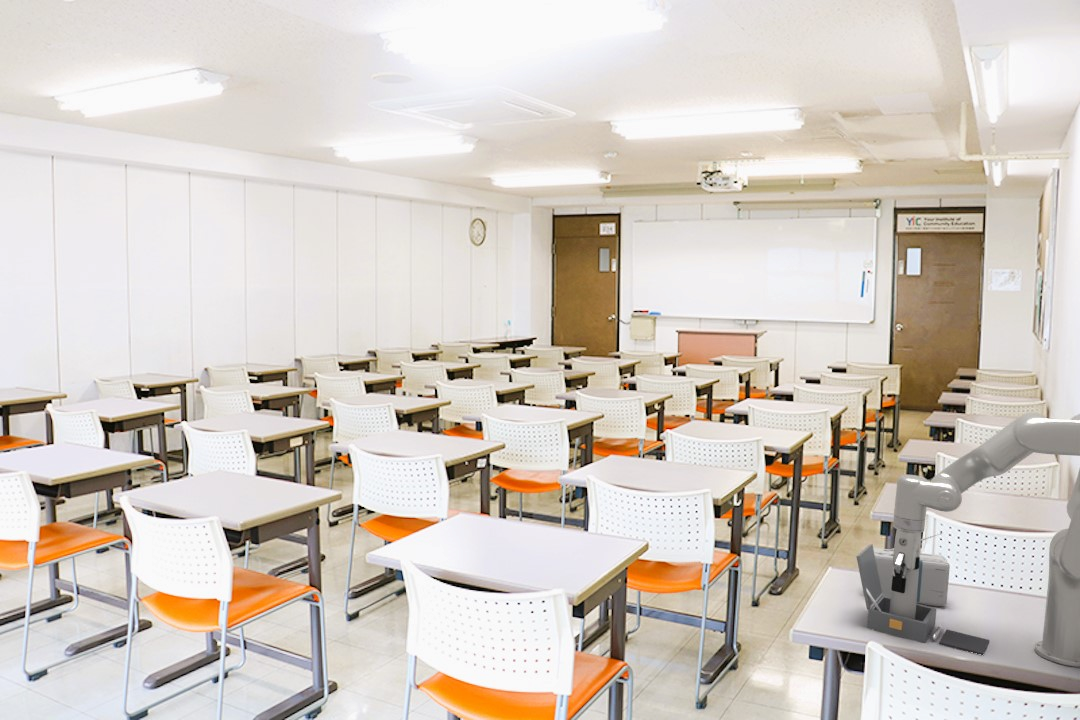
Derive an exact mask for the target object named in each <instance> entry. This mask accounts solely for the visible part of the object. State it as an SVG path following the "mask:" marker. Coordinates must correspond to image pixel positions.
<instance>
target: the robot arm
mask: <svg viewBox="0 0 1080 720" xmlns="http://www.w3.org/2000/svg"><path fill="white" fill-rule="evenodd" d="M1033 453H1035V454H1044V455H1045V454H1046V455H1055V456H1077V457H1080V413H1079V414H1076V415H1074V416H1073V417H1071V418H1070V419H1066V418H1065V419H1064V418H1063V419H1062V418H1061V419H1060V418H1047V417H1046V416H1044V415H1043V414H1040V413H1036V412H1027V413H1024V414H1022V415H1020V416H1019V417H1017V418H1015V419H1014V420H1013V421H1011V422H1010V423H1008V424H1007V425H1005V426H1004V427H1003V428H1002V429H1001V430H999V431H998V432H996V433H995V434H994V435H993V436H991V437H990V438H988V439H987V440H986V441H985V442H983V443H981V444H980V445H978V446H977V447H976V448H974V449H972V450H970V451H969V452H967V453H966V454H963V456H961V457H960V458H958V459H956V460H954V461H953V462H952V463H950V464H949V465H948V466H946V467H945V468H944V469H942V470H940V472H939V473H937V474H936V475H935V476H933V477H932V478H931V480H930V481H929V480H928V479H927V478H926V477H924V476H920V475H915V474H902V475H900V476H898V478H897V480H896V489H895V490H896V491H895V503H894V510H893V511H894V512H893V518H892V519H893V521H892V527H893V528H894V529H896V532H895V538H894V546H893V548H894V554H893V565H894V566H895V568H894V572H893V578H892V588H891V590H892V591H895V592H899V593H905V587H906V578H905V576H906V571H907V569H910V570H913V569H914V568H915V563H916V558H918V557H920V553H921V546H922V541H921V539H922V533H923V532H925V526H926V516H927V515H926V514H927V508H929V509H933V510H935V511H940V512H943V513H944V512H945V513H948V512H953V511H956V510H957V509H958V508H959V507H960V506H961V503H962V500H963V499H962V498H963V496H962V495H963V493H965V492H966V491H967V490H968V489H970V488H972V487H973V486H974V485H975V484H977V483H979V482H980V481H983V480H985V479H988V478H991V477H997V476H1000V475H1003V474H1005V473H1007V472H1008V471H1010V470H1011V469H1013V468H1014V467H1016V466H1017V465H1018V464H1019V463H1021V462H1022V461H1023V460H1025V459H1026V458H1027V457H1029V456H1030V455H1032V454H1033ZM1066 504H1067V505H1066V512H1067V516H1068V517H1069V519H1070V523H1069V524H1068V525H1069V526H1068V528H1065V529H1062V530H1060V531H1058V532H1056V534H1055V535H1053V536H1052V538H1051V541H1050V543H1049V551H1048V564H1049V565H1048V568H1049V569H1048V578H1047V579H1048V580H1047V581H1048V582H1047V590H1046V601H1045V612H1044V621H1043V632H1042V640H1039V641H1037V642H1035V644H1034V646H1033V647H1034V651H1035V652H1036V653H1037V654H1038V655H1039V656H1040V657H1042V658H1043V659H1046V660H1048V661H1051V662H1053V663H1057V664H1061V665H1063V666H1069V667H1075V668H1076V667H1077V668H1080V468H1079V470H1078V473H1077V477H1076V479H1075V482H1074V485H1073V488H1072V490H1071V493H1070V496H1069V499H1068V500H1067V503H1066ZM904 557H905V558H904ZM903 565H905V566H903ZM902 569H903V570H904V571H902Z"/></svg>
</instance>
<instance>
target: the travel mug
mask: <svg viewBox="0 0 1080 720" xmlns="http://www.w3.org/2000/svg"><path fill="white" fill-rule="evenodd" d="M904 558H905V557H904ZM919 561H920V557H918V558H916V563H915V568H914V569H913V570H910V569H907V571H906V576H905V578H906V587H905V593H899V592H895V591H892V590H891V599H890V612H889V613H890V614H894V615H898V616H902V617H906V618H910V619H914V620H915V614H916V604H917V603H916V602H917V589H918V577H919ZM903 566H905V565H903ZM894 568H895V566H894V565H893V572H894ZM902 571H904V570H903V569H902ZM892 578H893V573H892ZM891 588H892V586H891Z"/></svg>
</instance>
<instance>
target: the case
mask: <svg viewBox="0 0 1080 720" xmlns="http://www.w3.org/2000/svg"><path fill="white" fill-rule="evenodd" d="M873 548H874V545H873V544H872V543H871V544H868V545H867V546H865V548H864V549H862V550H861V552H859V553H858V554H857V555H856V556H855V557H856V562H857V567H858V571H859V572H858V573H859V576H860V580H861V581H860V582H861V586H862V592H863V596H864V601H865V607H866V610H867V625H866V629H868V628H869V629H868V630H872V629H873V631H877V632H880V633H885V634H888V635H892V636H896V637H901V638H903V639H907V640H911V641H916V642H920V643H924V644H925V643H926V642H927V640H928V639H929V637H930V635H931V634H932V632H933V630H934V629H935V628H936V621H937V607H932V606H930V605H928V606H927V605H925V604H918V603H916V614H915V620H914V619H910V618H906V617H902V616H898V615H894V614H890V613H889V612H890V599H891V598H890V597H886V596H883V593H882V589H881V584H880V579H879V574H878V569H877V564H876V559H875V554H874V550H873Z"/></svg>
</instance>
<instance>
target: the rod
mask: <svg viewBox="0 0 1080 720" xmlns="http://www.w3.org/2000/svg"><path fill="white" fill-rule="evenodd" d="M942 631H943V628H942V626H937V628H936V629H935V631H934V632H933V634H932V635H931V637H930V641H931V642H936V641H937V639H938V637H939V635H940V634H941V632H942Z"/></svg>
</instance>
